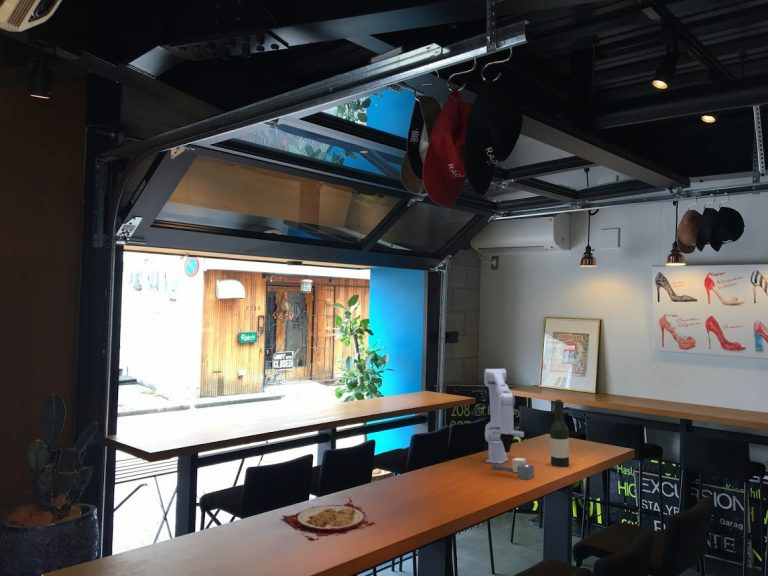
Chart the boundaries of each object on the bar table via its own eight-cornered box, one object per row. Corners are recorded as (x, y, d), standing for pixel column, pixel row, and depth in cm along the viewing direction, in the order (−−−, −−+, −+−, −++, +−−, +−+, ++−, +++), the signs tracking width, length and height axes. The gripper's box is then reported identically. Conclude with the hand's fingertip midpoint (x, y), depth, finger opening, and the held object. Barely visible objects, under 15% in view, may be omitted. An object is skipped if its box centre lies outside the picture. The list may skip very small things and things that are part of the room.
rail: (494, 467, 273) (494, 463, 273) (532, 472, 263) (532, 468, 264) (491, 468, 271) (491, 464, 271) (530, 474, 261) (530, 469, 261)
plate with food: (281, 521, 207) (281, 510, 207) (349, 506, 220) (349, 496, 220) (310, 545, 186) (310, 533, 186) (383, 526, 199) (383, 515, 199)
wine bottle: (571, 467, 272) (570, 401, 274) (553, 467, 272) (551, 401, 274) (566, 462, 280) (565, 398, 282) (548, 462, 281) (547, 398, 282)
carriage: (516, 469, 268) (516, 457, 269) (526, 470, 266) (526, 458, 266) (512, 471, 264) (512, 459, 265) (522, 473, 262) (522, 461, 262)
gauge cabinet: (522, 475, 260) (522, 462, 260) (533, 476, 257) (533, 464, 257) (517, 478, 255) (517, 465, 255) (529, 479, 252) (528, 467, 252)
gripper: (487, 420, 262) (488, 451, 261) (519, 423, 254) (520, 455, 253) (493, 418, 268) (494, 448, 267) (525, 420, 260) (525, 452, 259)
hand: (507, 452), depth 261 cm, fingers closed
